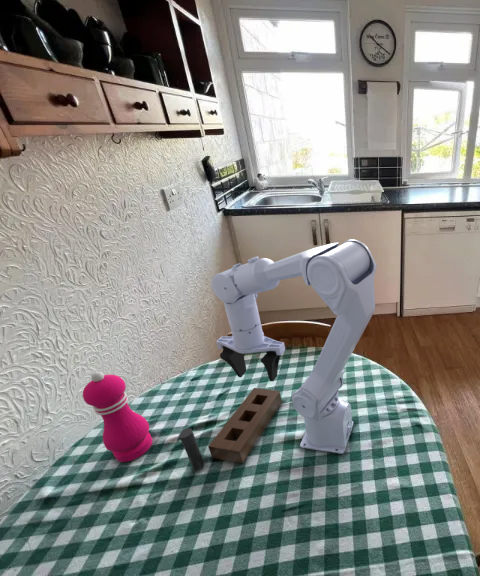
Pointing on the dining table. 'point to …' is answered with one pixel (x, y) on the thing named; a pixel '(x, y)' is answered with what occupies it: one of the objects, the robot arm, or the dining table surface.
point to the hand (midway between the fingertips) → (258, 376)
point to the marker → (191, 448)
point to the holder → (245, 426)
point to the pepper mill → (117, 417)
